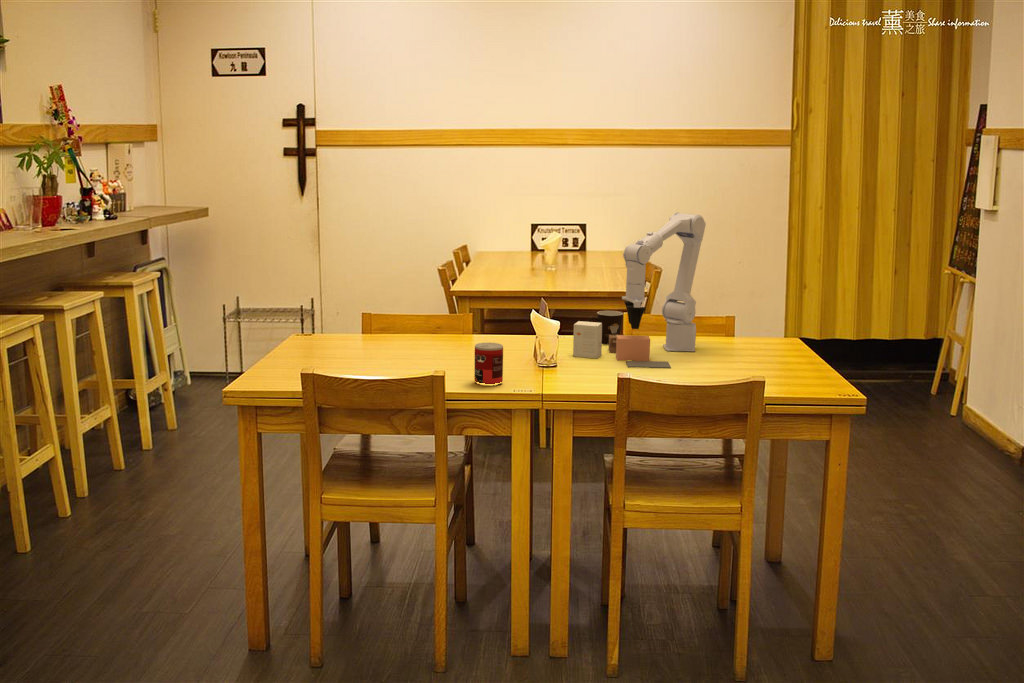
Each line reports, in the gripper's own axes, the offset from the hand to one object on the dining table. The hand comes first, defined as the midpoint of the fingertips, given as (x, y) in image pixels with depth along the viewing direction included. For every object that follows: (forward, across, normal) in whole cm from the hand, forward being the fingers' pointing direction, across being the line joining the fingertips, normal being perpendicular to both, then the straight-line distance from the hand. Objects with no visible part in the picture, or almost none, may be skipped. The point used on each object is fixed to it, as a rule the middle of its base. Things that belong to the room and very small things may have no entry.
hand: (633, 326), depth 323 cm
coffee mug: (+11, -23, -7) cm, 26 cm away
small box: (+11, -3, -14) cm, 18 cm away
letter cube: (+10, -10, -4) cm, 15 cm away
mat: (+10, +8, +4) cm, 14 cm away
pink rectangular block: (+10, 0, 0) cm, 10 cm away
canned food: (+11, +33, -44) cm, 56 cm away
